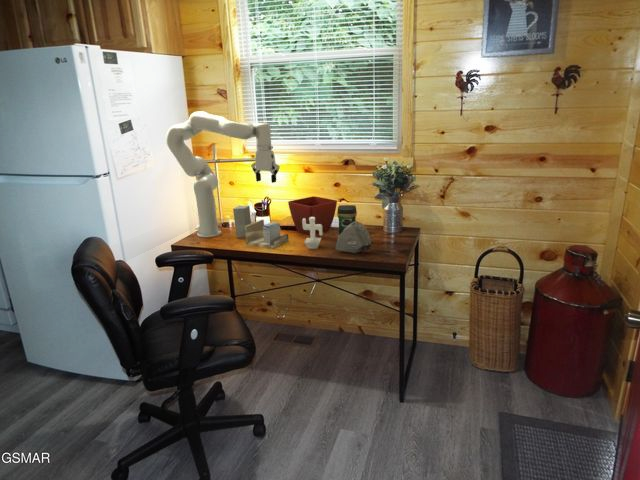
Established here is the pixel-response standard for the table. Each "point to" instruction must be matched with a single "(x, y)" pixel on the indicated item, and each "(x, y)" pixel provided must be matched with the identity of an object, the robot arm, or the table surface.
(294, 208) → the plant pot
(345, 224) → the coffee jar
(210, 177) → the robot arm
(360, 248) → the decorative rock
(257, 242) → the grey angle bracket
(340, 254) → the table surface
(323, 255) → the table surface
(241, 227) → the skincare box
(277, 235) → the medicine box
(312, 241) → the figurine
